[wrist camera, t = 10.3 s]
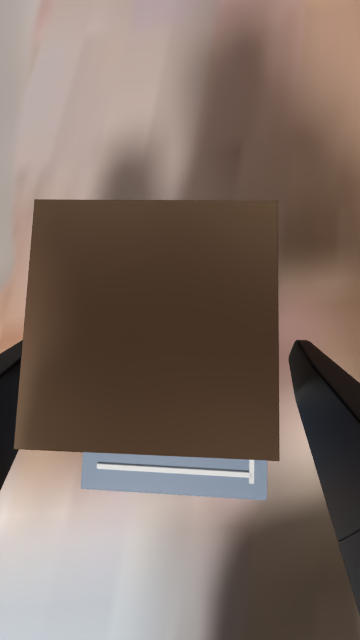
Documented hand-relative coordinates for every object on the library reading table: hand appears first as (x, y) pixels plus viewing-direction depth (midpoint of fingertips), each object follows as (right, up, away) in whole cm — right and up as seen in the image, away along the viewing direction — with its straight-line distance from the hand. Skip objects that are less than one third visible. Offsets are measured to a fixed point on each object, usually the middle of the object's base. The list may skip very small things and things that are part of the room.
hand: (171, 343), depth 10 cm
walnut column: (0, 0, +8) cm, 8 cm away
